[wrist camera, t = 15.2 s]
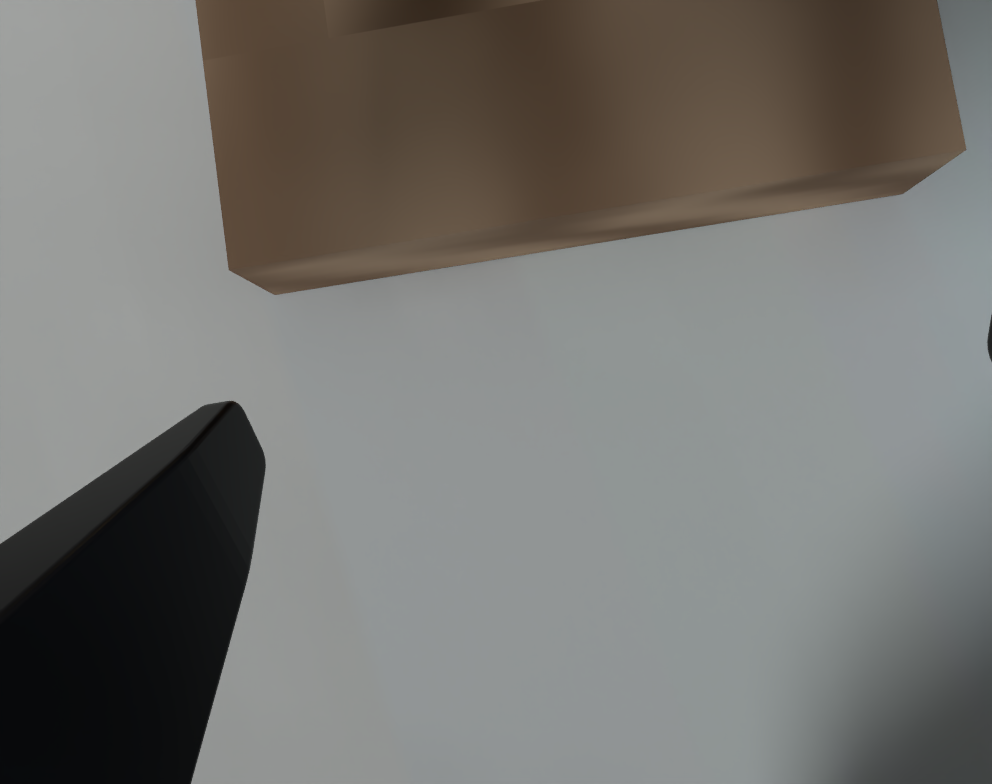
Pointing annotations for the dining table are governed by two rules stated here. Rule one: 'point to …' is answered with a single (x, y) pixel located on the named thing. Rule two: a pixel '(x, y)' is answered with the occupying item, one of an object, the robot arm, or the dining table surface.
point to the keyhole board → (553, 122)
